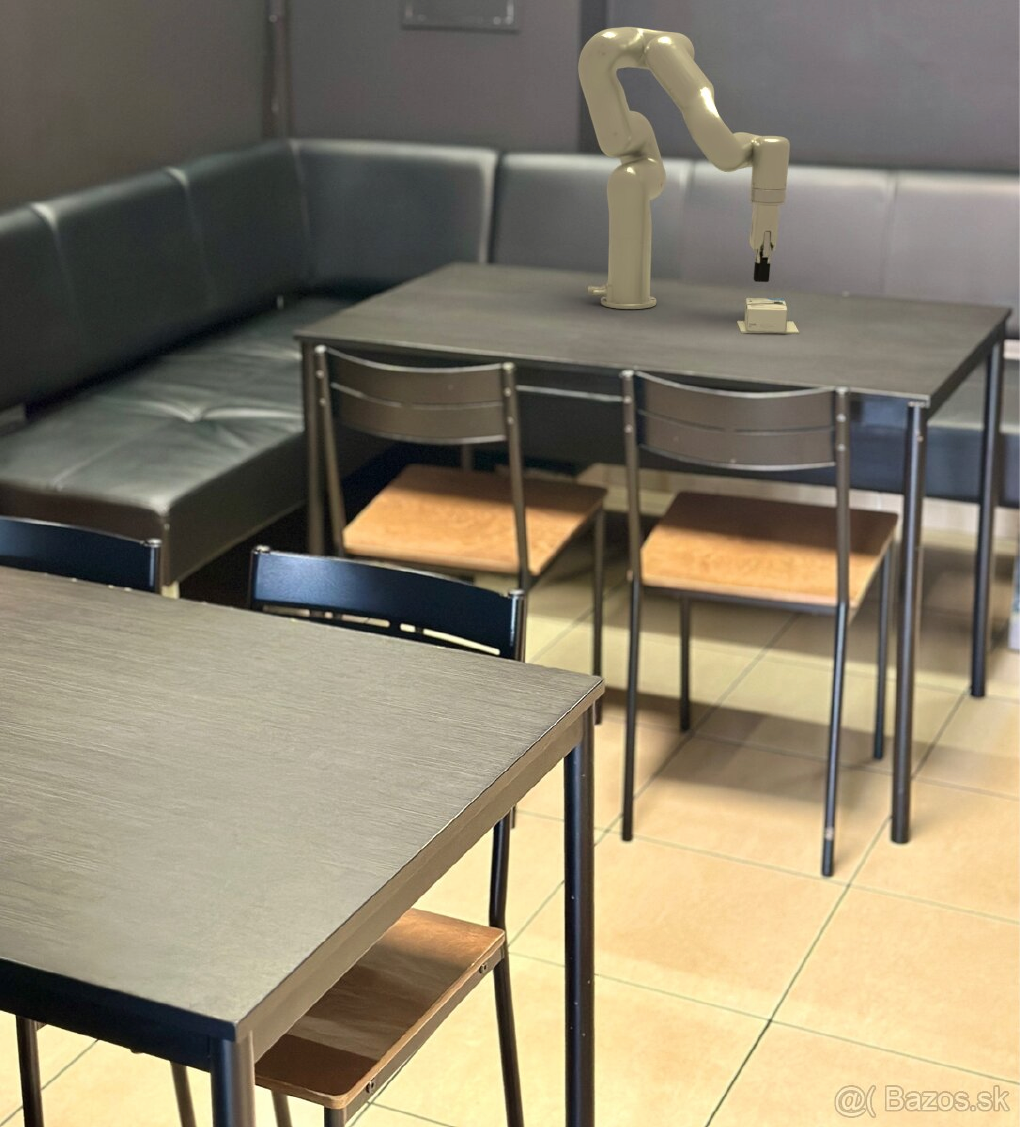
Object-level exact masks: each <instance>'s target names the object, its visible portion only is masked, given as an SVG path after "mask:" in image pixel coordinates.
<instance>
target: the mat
mask: <svg viewBox="0 0 1020 1127" xmlns="http://www.w3.org/2000/svg"><path fill="white" fill-rule="evenodd" d="M736 321H737V322H736V323H737V326H738V328H739V330H740V332H741V334H793V335H794V334H797V335H798V334H799V333H800V331H799V329H798V328H797V326H796V324H795V323H794V321H792V320H791V321H790V320H789V321H788V320H787V331H785V332H764V331H747V330H746V324H745V320H736Z"/></svg>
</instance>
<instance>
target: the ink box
mask: <svg viewBox="0 0 1020 1127" xmlns="http://www.w3.org/2000/svg"><path fill="white" fill-rule="evenodd" d="M744 306H745V307H744V321H745V324H746V330H747V331H764V332H785V331H787V321H788V307H787V304H786V300H785V298H780V297H779V298H776V297H773V298H770V297H769V298H767V297H761V298H760V297H746V298H745V304H744Z"/></svg>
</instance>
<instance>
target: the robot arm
mask: <svg viewBox="0 0 1020 1127" xmlns="http://www.w3.org/2000/svg"><path fill="white" fill-rule="evenodd" d="M577 65H578V66H577V71H578V77H579V81H580V85H581V89H582V92H583V94H584V98H585V100H586V104H587V107H588V111H589V115H590V119H591V122H592V125H593V126H592V127H593V129H594V132H595V136H596V139H597V143H598V146H599V148H600V150H601V151H602V153H603V154H604V155H606V156H607V157H609V158H611V159H619V161H620V165H618V166H617V167H616V168H615V169H613V171H612V172H611V174H609V177H608V180H607V184H606V196H607V197H606V198H607V206H608V207H607V208H608V221H609V222H608V225H609V226H608V227H609V228H608V273H607V274H608V275H607V276H608V277H607V281H606V282H605V283H606V284H602V285H601V286H595V285H588V286H587V287H588V288H587V295H593V296H595V297H596V296H597V297H598V296H602V297H601V298H600V305H602V306H604V307H605V308H606V307H607V308H611V309H619V310H641V309H642V310H643V309H649V308H653V307H655V306H656V305H657V298H655V297H654V296H650V295H651V294H650V293H651V265H652V264H651V263H652V262H651V260H652V232H653V231H652V230H653V229H652V227H653V225H652V224H653V222H652V212H651V206H650V201H652V200H654V199H656V198H658V197H659V196H660V195H661V194H662V193H663V191H664V189H665V187H666V184H667V174H666V170H665V166H664V162H663V159H662V156H661V152H660V149H659V146H658V142H657V139H656V134H655V131H654V129H653V127H652V124H651V123H650V121H649V120H648V119H647V117H646V116H644V115H643V114H642V113H641V112H638V111H636V110H635V111H634V110H630V107H629V104H628V102H627V97H626V93H625V90H624V88H623V86H622V84H621V82H620V80H619V79H618V75H617V72H618V69H619V70H620V69H624V68H633V69H634V68H637V69H643V70H649V71H650V72H651V74H652V75H653V77H654V78H655V79H656V81H657V82H658V83H659V85H661V87H662V88H663V89H664V91H665V92H666V94H667V95H668V96H669V97H670V99H671V100H672V101H673V103H674V104H675V105H676V107H677V108H678V110H679V111H680V112H681V114H682V118H683V121H684V123H685V125H686V127H687V129H688V131H689V134H690V136H691V137H692V139H693V141H694V143H695V144H696V145H697V147H698V148H699V149H700V150H701V152H702V153H703V155H705V157H706V158H707V160H708V161H709V163H711V165H713V167H715V168H716V169H718V170H719V171H721V172H724V173H732V172H735V171H739V170H742V169H746V168H751V181H750V182H751V183H750V195H749V203H750V204H753V208H752V216H751V222H750V232H749V234H750V235H749V246H750V247H751V250H753V251H755V262H754V267H753V269H754V270H753V280H754V282H758V283H769V281H770V274H771V272H770V270H771V255H772V254H771V253H772V252H774V251H775V250H776V247H777V240H778V229H779V216H780V207H781V206H783V205H785V204H786V196H787V195H786V194H787V184H788V173H789V172H788V171H789V170H788V169H789V162H790V160H789V159H790V148H791V146H790V145H791V144H790V141H789V138H788V139H787V137H783V136H779V135H778V136H777V135H757V134H754V133H753V134H752V133H749V132H745V131H744V132H742V131H740V132H739V131H737V132H734V133H733V132H732V131H731V130H730V129H729V127H728V126H727V125H726V124H725V122H724V120H723V119H722V117H721V116H720V114H719V113H718V109H717V107H716V104H715V88H714V86H713V84H712V82H711V81H710V80H709V78H708V77H707V76H706V75H705V74H704V72H703V71H702V70H701V68H700V66H698V64H697V63H696V62H695V47H694V45H693V43H692V41H691V39H690V38H689V37H688V36H686V35H685V34H682V33H680V32H671V31H665V30H664V31H663V30H655V29H648V28H641V27H635V26H634V27H633V26H623V27H612V28H607V29H603V30H601V31H599V32H597V33H596V34H594V35H593V36H592V37H590V38H589V40H588V41H587V42H586V44H585V45H584V46H583V48H582V50H581V52H580V54H579V59H578V64H577Z"/></svg>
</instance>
